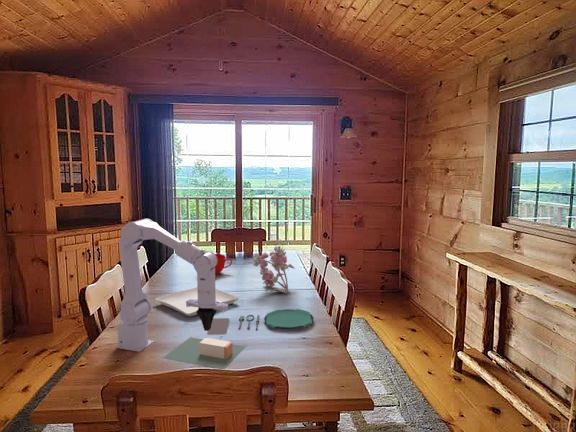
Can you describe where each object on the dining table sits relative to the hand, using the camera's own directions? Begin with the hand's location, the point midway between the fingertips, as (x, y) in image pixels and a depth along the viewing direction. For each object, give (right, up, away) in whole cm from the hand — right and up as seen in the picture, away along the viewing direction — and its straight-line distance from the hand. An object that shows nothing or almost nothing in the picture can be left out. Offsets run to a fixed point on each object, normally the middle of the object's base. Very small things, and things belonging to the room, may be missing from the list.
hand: (207, 329), depth 130 cm
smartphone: (0, -6, +22) cm, 23 cm away
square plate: (-14, -3, +47) cm, 49 cm away
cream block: (-2, -6, +1) cm, 6 cm away
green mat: (-1, -8, +1) cm, 8 cm away
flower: (+19, 0, +68) cm, 71 cm away
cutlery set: (+22, -6, +28) cm, 36 cm away
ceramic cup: (-14, +4, +96) cm, 97 cm away
